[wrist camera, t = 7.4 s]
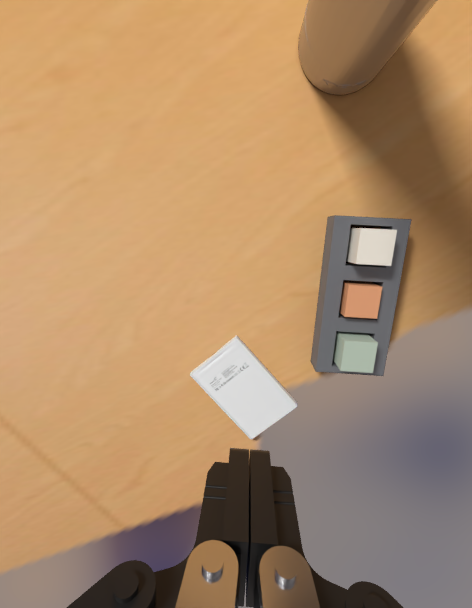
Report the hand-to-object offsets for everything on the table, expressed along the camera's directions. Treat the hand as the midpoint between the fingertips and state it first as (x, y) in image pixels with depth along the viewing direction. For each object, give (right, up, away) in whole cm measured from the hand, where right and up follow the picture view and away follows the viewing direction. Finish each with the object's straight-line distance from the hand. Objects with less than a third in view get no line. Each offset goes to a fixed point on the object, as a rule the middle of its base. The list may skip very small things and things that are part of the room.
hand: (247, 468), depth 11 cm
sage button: (+13, +1, +25) cm, 29 cm away
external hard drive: (+1, -5, +30) cm, 30 cm away
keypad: (+14, +7, +25) cm, 30 cm away
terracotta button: (+14, +7, +25) cm, 29 cm away
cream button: (+14, +13, +23) cm, 29 cm away
